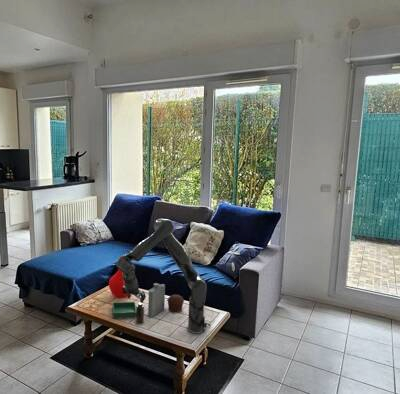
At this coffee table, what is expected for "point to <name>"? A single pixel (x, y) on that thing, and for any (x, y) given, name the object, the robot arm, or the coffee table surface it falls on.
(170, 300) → the muffin
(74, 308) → the coffee table surface
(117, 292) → the vase
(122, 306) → the tray
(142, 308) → the pepper mill
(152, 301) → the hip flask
